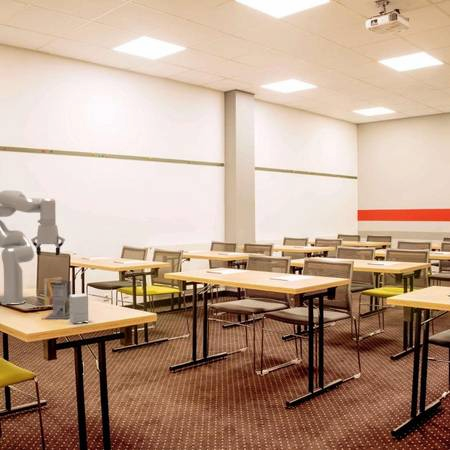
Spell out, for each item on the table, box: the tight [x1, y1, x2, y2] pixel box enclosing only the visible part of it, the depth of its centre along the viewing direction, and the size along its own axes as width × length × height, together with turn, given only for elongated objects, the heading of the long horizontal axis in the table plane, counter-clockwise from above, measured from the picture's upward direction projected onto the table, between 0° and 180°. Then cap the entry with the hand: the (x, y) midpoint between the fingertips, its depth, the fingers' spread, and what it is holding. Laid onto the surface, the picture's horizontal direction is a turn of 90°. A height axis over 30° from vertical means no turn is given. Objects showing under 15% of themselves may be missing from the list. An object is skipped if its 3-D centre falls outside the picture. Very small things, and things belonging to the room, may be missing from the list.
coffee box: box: [52, 280, 72, 316], centre depth 253 cm, size 9×6×16 cm
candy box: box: [43, 277, 64, 306], centre depth 274 cm, size 9×4×15 cm, turn 129°
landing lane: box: [41, 311, 70, 320], centre depth 253 cm, size 13×18×1 cm
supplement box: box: [69, 293, 89, 324], centre depth 239 cm, size 7×7×13 cm
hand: (48, 255), depth 268 cm, fingers open, 9 cm apart
